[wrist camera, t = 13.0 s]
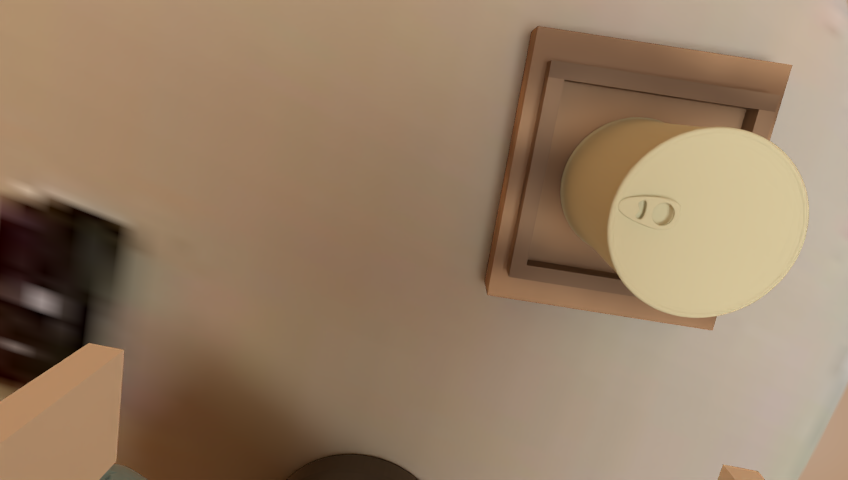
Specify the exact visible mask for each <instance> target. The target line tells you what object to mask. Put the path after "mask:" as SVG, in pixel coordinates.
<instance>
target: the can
mask: <svg viewBox="0 0 848 480" xmlns="http://www.w3.org/2000/svg"><path fill="white" fill-rule="evenodd" d="M560 196H561V204H562V209H563V212H564V215H565V218H566V220H567V222H568V224H569V225H570V227H571V229H572V230H573V231H574V233H575V234H576V235H577V236H578V237H579V238H580V239H581V240H582V241H584V242H585V243H586V244H588V245H589V246H591V247H592V248H593V249H594V250H595V251H596V252H597V253H598V254H599V255H600V256H601V257H602V258H603V259H604V260H605V261H606V262H607V263H608V264H609V266H610V267H611V268H612V269H613V270H614V271H615V272H616V273H617V274H618V276H619V278H620V279H621V281H622V282H623V284H624V285H625V286H626V287H627V288H628V289H629V290H630V291H631V292H632V293H633V294H634V295H635V296H636V297H637V298H638V299H640V300H641V301H642V302H644V303H646V304H647V305H649V306H651V307H653V308H655V309H657V310H659V311H662V312H664V313H668V314H671V315H675V316H680V317H688V318H706V317H714V316H719V315H724V314H727V313H731V312H734V311H736V310H739V309H741V308H744V307H746V306H748V305H750V304H752V303H753V302H755V301H757V300H758V299H760V298H761V297H763V296H764V295H765V294H767V293H768V292H769V291H770V290H771V289H773V288H774V287H775V286H776V285H777V284H778V283H779V282H780V281H781V280H782V279H783V278H784V276H785V275H786V274H787V272H788V271H789V270H790V268H791V267H792V265H793V264H794V262H795V261H796V259H797V257H798V255H799V253H800V250H801V248H802V245H803V243H804V240H805V237H806V232H807V227H808V219H809V204H808V197H807V192H806V188H805V185H804V182H803V180H802V177H801V175H800V173H799V171H798V170H797V168H796V166H795V165H794V163H793V162H792V161H791V159H790V158H789V157H788V156H787V155H786V154H785V153H784V152H783V151H782V150H781V149H780V148H779V147H777V146H776V145H775V144H773V143H772V142H770V141H769V140H767V139H766V138H764V137H762V136H760V135H757V134H755V133H752V132H750V131H746V130H742V129H737V128H731V127H698V126H688V125H679V124H670V123H664V122H662V121H659V120H656V119H651V118H643V117H631V118H624V119H619V120H616V121H613V122H610V123H607V124H605V125H603V126H601V127H599V128H598V129H596V130H595V131H593V132H592V133H590V134H589V135H588V136H587V137H586V138H584V139H583V140H582V141H581V142H580V144H579V145H578V146H577V147H576V148H575V150H574V151H573V153H572V154H571V156H570V158H569V159H568V162H567V164H566V166H565V169H564V172H563V175H562V180H561V188H560Z"/></svg>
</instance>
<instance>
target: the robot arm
mask: <svg viewBox="0 0 848 480" xmlns="http://www.w3.org/2000/svg"><path fill="white" fill-rule="evenodd" d="M123 362H124V350H122V349H117V348H112V347H107V346H101V345H96V344H91V343H88V344H87V345H85V346H84V347H82V348H81V349H79V350H78V351H76V352H75V353H73V354H72V355H70V356H69V357H67V358H66V359H64V360H63V361H61V362H60V363H58V364H57V365H55V366H53V367H52V368H50V369H49V370H47V371H46V372H44V373H43V374H41V375H40V376H38V377H37V378H35V379H34V380H32V381H31V382H29V383H28V384H26V385H25V386H23V387H22V388H20V389H19V390H17V391H16V392H14V393H13V394H11V395H10V396H8V397H7V398H5V399H4V400H2V401H1V402H0V480H148V479H146V478H145V477H143V476H142V475H140V474H138V473H137V472H135V471H134V470H132V469H131V468H129V467H126V466H123V465H119V464H114V463H115V462H116V460H117V446H118V432H119V418H120V404H121V390H122V376H123ZM287 480H417V479H416V478H415V477H413V476H412V475H411V474H410V473H408V472H407V471H405V470H403V469H402V468H400V467H398V466H396V465H394V464H392V463H389V462H387V461H384V460H381V459H378V458H374V457H369V456H363V455H337V456H331V457H326V458H323V459H319V460H317V461H314V462H312V463H310V464H307V465H306V466H304V467H302V468H301V469H299V470H297V471H296V472H295V473H294V474H292V475H291V476H290V477H289V478H288V479H287ZM718 480H765V479H764V478H763V477H762V476H761V474H760V473H759V472H758V471H754V470H749V469H744V468H739V467H733V466H728V465H723V466H722V469H721V472H720V475H719V477H718Z"/></svg>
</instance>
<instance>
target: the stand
mask: <svg viewBox="0 0 848 480" xmlns="http://www.w3.org/2000/svg"><path fill="white" fill-rule="evenodd" d="M791 68H792V65H788V64H781V63H775V62H768V61H762V60H755V59H749V58H742V57H736V56H729V55H723V54H716V53H710V52H703V51H697V50H690V49H684V48H677V47H671V46H664V45H658V44H651V43H645V42H638V41H632V40H625V39H619V38H612V37H606V36H599V35H593V34H586V33H580V32H573V31H567V30H560V29H554V28H547V27H541V26H538V27H537V28H535V29H534V30H533V31H532V32H531V36H530V42H529V47H528V53H527V58H526V63H525V69H524V74H523V79H522V85H521V90H520V95H519V101H518V106H517V111H516V117H515V122H514V128H513V133H512V138H511V144H510V149H509V154H508V160H507V165H506V170H505V176H504V181H503V186H502V192H501V197H500V202H499V208H498V213H497V219H496V224H495V229H494V235H493V240H492V245H491V251H490V256H489V261H488V267H487V272H486V277H485V286H486V291H487V295H491V296H497V297H504V298H510V299H516V300H523V301H529V302H535V303H542V304H548V305H554V306H561V307H567V308H573V309H580V310H586V311H593V312H599V313H605V314H612V315H618V316H624V317H631V318H637V319H643V320H650V321H656V322H662V323H669V324H675V325H681V326H688V327H694V328H701V329H707V330H713V327H714V324H715V320H716V317H717V316H714V317H706V318H688V317H680V316H675V315H671V314H668V313H664V312H662V311H659V310H657V309H655V308H653V307H651V306H649V305H647V304H646V303H644V302H642V301H641V300H640V299H638V298H637V297H636V296H635V295H634V294H633V293H632V292H631V291H630V290H629V289H628V288H627V287H626V286H625V285H624V284H623V282H622V281H621V279H620V278H619V276H618V274H617V273H616V272H615V271H614V270H613V269H612V268H611V267H610V266H609V264H608V263H607V262H606V261H605V260H604V259H603V258H602V257H601V256H600V255H599V254H598V253H597V252H596V251H595V250H594V249H593V248H592V247H591V246H589V245H588V244H586V243H585V242H584V241H582V240H581V239H580V238H579V237H578V236H577V235H576V234H575V233H574V231H573V230H572V229H571V227H570V225H569V224H568V222H567V220H566V218H565V215H564V212H563V209H562V204H561V196H560V188H561V180H562V175H563V172H564V169H565V166H566V164H567V162H568V159H569V158H570V156H571V154H572V153H573V151H574V150H575V148H576V147H577V146H578V145H579V144H580V142H581V141H582V140H583V139H584V138H586V137H587V136H588V135H589V134H590V133H592V132H593V131H595V130H596V129H598V128H599V127H601V126H603V125H605V124H607V123H610V122H613V121H616V120H619V119H624V118H631V117H643V118H651V119H656V120H659V121H662V122H664V123H670V124H679V125H688V126H698V127H731V128H737V129H742V130H746V131H750V132H752V133H755V134H757V135H760V136H762V137H764V138H766V139H767V140H769V141H770V138H771V134H772V131H773V128H774V124H775V121H776V118H777V114H778V111H779V108H780V104H781V101H782V98H783V94H784V91H785V88H786V84H787V81H788V78H789V74H790V71H791Z"/></svg>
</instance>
